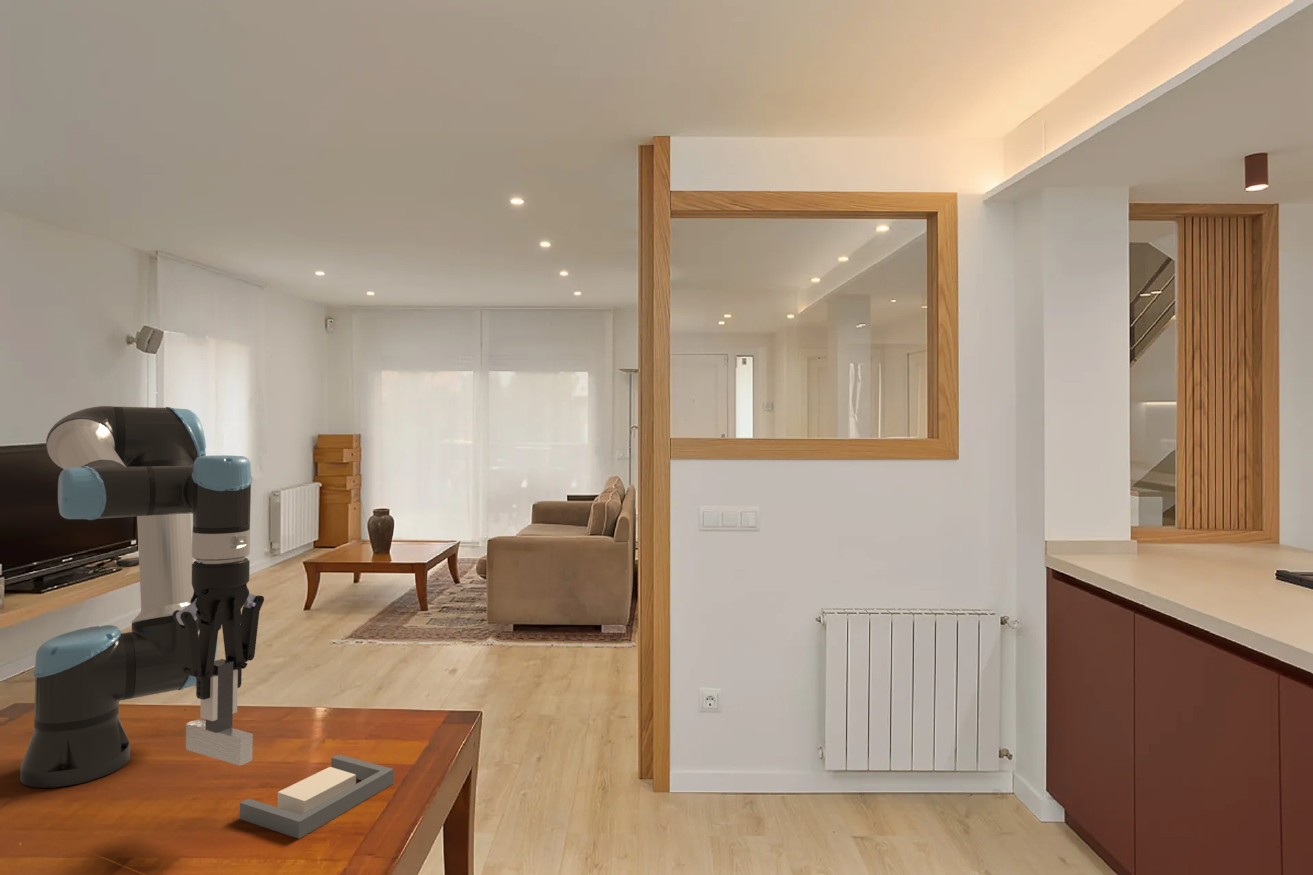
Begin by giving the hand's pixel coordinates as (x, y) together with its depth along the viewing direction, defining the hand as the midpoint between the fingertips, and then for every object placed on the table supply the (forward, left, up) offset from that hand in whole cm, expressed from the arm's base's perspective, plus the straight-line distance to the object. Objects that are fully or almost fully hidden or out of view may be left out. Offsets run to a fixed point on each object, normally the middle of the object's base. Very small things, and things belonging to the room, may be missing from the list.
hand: (218, 714), depth 114 cm
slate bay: (+8, +12, -16) cm, 22 cm away
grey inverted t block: (0, 0, -6) cm, 6 cm away
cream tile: (+7, +12, -17) cm, 22 cm away
